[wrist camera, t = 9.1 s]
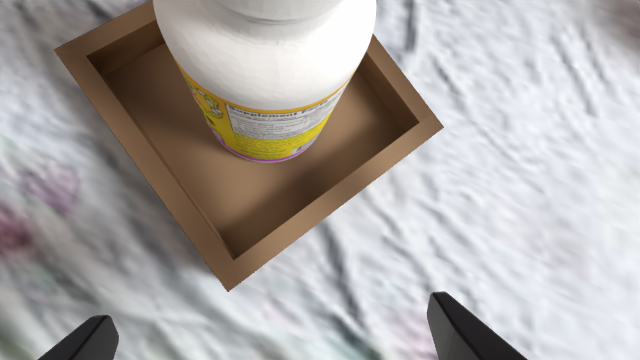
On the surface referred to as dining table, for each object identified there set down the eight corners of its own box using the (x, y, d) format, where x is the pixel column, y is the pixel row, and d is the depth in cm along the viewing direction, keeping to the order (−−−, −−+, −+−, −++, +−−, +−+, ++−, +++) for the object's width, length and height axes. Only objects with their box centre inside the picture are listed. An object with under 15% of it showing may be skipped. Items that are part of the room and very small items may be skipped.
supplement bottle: (207, 50, 19) (102, -298, 7) (322, 58, 20) (419, -229, 8) (203, 166, 18) (71, 13, 6) (325, 167, 19) (442, 40, 7)
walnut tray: (233, 283, 18) (227, 292, 15) (86, 78, 19) (53, 49, 16) (419, 141, 22) (444, 127, 19) (289, -31, 22) (293, -72, 19)
